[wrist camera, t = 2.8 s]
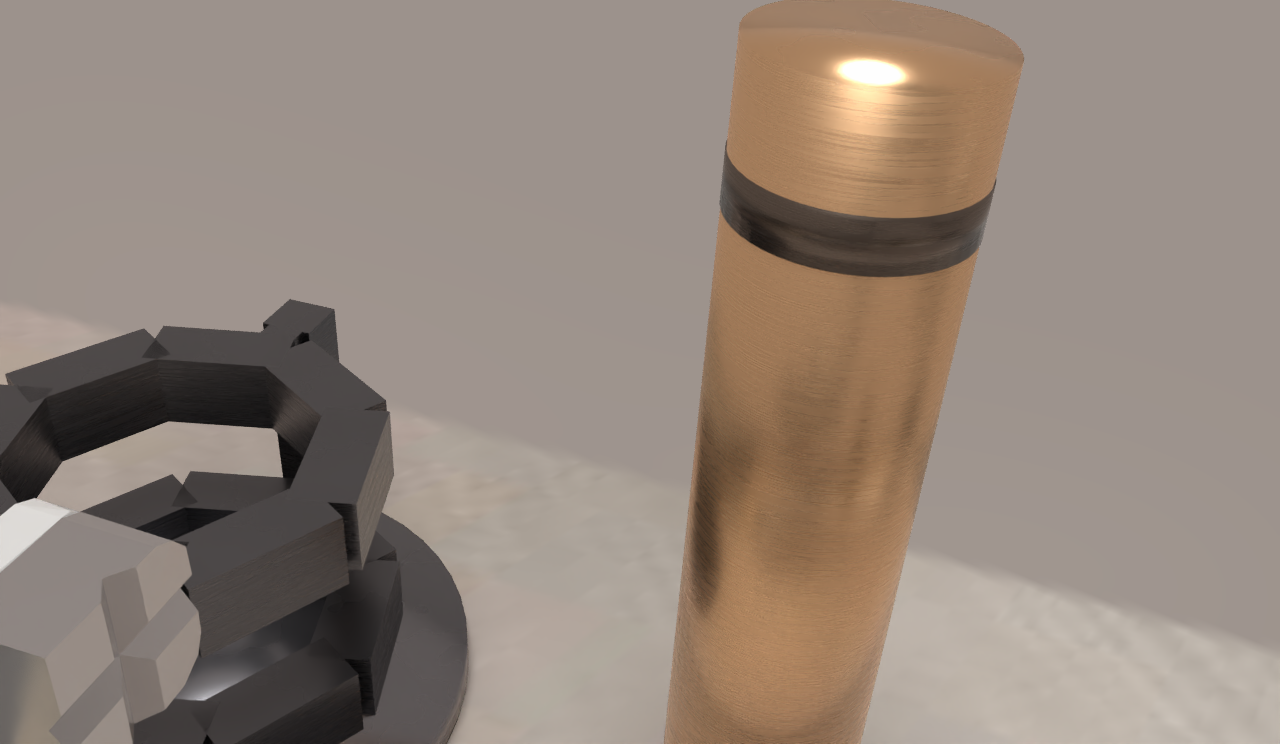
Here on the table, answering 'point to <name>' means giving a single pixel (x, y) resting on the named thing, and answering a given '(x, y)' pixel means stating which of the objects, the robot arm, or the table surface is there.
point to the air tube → (828, 352)
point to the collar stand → (264, 532)
